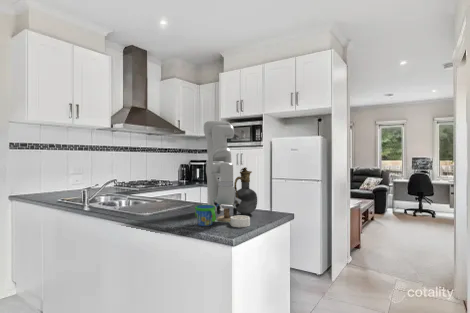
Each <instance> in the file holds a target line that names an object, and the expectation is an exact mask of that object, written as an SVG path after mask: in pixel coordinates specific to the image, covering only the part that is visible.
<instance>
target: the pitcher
mask: <svg viewBox="0 0 470 313" xmlns="http://www.w3.org/2000/svg"><path fill="white" fill-rule="evenodd" d="M252 173H253V171H251V170H248V168H247V167H242V168H241V169H240V170H239V174H240V176H237V177H236V178H235V180H234V181H233V187H234V188H235V194H236V197H237V198H238V199H240V200H241V203H240V205H239V206H238V207H237V213H239V214H238V215H244V216H249V217H251V216H252V213H254V211H255V210H256V208H257V205H258V196H257V193H256V192H255V191H254V190H253V189H252V188H250V183H251V180H250V178H251V177H250V176H251V174H252ZM239 180H240V183H241V188H240V189H237V182H238V181H239ZM237 204H238V201H236V205H237Z"/></svg>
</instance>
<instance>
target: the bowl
mask: <svg viewBox="0 0 470 313" xmlns="http://www.w3.org/2000/svg"><path fill="white" fill-rule="evenodd" d="M231 216H232V217H230V223H229V224H230V226H231V227H233V228H247V227H250V225H251V216H244V215H239V214H238V215H237V214H236V215H231Z"/></svg>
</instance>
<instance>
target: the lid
mask: <svg viewBox="0 0 470 313" xmlns="http://www.w3.org/2000/svg"><path fill="white" fill-rule="evenodd" d="M232 216H233V215H230V208H229V207H225V208H224V211H223V215H219V216H218V215H217V217H216V219H217V220H218V221H222V222H221V223H229V222H230V217H232Z"/></svg>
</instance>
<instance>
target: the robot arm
mask: <svg viewBox="0 0 470 313" xmlns="http://www.w3.org/2000/svg"><path fill="white" fill-rule="evenodd" d="M203 134H204V137H205V139H206V151H207V165H206V167H205V174H206V181H207V184H206V185H207V186H206V187H207V188H206V189H207V191H206V192H207V196H206V197H207V198H206V200H207V203H202V204H201V205H213V206H215V210H214V211H215V213H217V215H220V214H221V212H224V208H223V207H222V205H223V206H232V207H233V210H232V211H233V213H232V214H233V215H232V216H236V215H237V214H238V211H237V207H238V206H239V205H240V203H241V200H240V199H238V198H237V197H236V194H235V188H234V164H233V162H232V153H231V150H230V148H229V147H228V143H227V139H233V138H234V137H235V129H234V126H233V125H232V124H231V123H230V122H229V121H224V120H222V121H221V120H219V121H218V120H208V121H205V122H204V124H203ZM236 201H238V204H237V205H236Z"/></svg>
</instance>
